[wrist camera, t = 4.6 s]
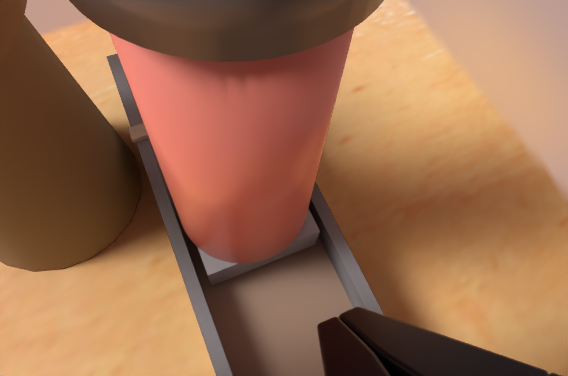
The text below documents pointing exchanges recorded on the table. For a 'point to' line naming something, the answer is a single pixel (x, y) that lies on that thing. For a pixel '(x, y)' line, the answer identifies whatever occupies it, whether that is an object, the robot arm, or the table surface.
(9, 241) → the olive rounded upright piece
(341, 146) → the table surface
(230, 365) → the track
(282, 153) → the plug
